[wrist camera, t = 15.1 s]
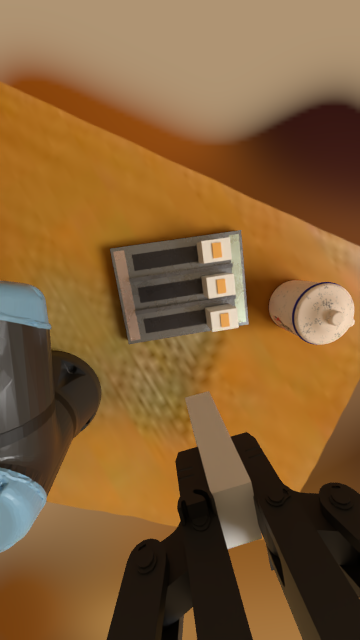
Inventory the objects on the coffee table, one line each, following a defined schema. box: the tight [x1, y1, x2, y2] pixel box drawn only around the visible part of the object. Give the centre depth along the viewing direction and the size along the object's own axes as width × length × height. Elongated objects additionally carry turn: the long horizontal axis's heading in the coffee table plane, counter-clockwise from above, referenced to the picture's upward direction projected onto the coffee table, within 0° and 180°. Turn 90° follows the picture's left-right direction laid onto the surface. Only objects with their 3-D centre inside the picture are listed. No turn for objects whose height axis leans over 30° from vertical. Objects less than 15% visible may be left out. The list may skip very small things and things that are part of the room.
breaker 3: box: [205, 304, 239, 332], centre depth 39 cm, size 4×3×4 cm
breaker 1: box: [197, 237, 232, 264], centre depth 37 cm, size 4×3×4 cm
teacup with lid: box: [269, 280, 355, 345], centre depth 39 cm, size 12×9×12 cm
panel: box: [110, 230, 249, 344], centre depth 41 cm, size 20×15×3 cm
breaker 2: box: [201, 273, 236, 299], centre depth 38 cm, size 4×3×4 cm
